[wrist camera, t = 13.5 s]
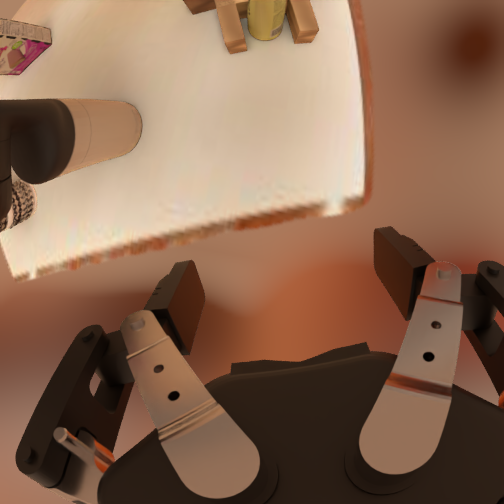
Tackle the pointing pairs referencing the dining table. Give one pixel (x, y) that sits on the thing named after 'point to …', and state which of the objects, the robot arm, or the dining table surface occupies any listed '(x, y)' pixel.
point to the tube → (265, 18)
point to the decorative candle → (20, 205)
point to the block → (236, 7)
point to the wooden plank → (200, 5)
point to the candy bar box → (21, 45)
